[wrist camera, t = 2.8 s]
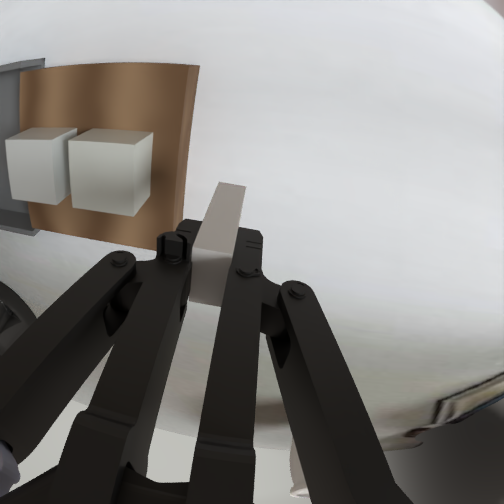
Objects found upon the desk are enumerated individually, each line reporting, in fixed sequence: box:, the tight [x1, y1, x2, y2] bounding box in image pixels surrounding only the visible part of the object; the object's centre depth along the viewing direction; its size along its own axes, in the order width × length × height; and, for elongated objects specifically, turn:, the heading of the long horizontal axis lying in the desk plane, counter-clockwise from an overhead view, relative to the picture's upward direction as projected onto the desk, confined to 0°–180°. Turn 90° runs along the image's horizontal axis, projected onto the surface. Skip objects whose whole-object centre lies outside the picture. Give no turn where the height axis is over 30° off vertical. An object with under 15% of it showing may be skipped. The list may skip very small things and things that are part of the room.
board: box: [20, 62, 200, 251], centre depth 23 cm, size 15×15×4 cm
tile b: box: [68, 128, 153, 217], centre depth 20 cm, size 5×5×4 cm
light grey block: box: [5, 128, 77, 205], centre depth 19 cm, size 5×5×4 cm
